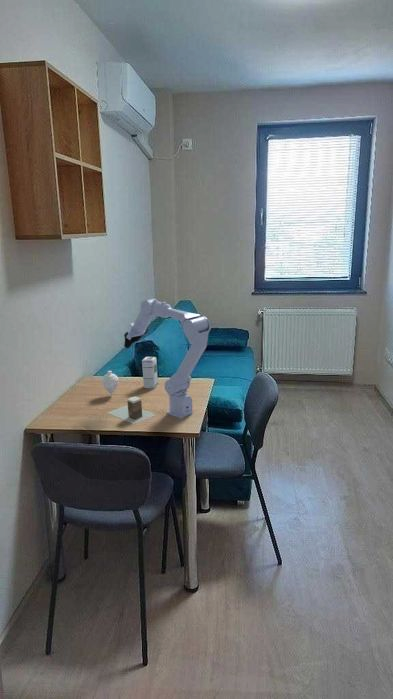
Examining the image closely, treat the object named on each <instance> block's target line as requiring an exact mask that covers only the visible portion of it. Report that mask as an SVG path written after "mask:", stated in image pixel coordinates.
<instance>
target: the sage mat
mask: <svg viewBox="0 0 393 699" xmlns="http://www.w3.org/2000/svg"><path fill="white" fill-rule="evenodd" d="M106 413H107V414H110V415H112V416H113V417H116V418H118V419H120V420H123V421H125V422H128V423H129V424H132V425H135V424H137V423H140V422H143V421H144V420H147V419H150V418H152V417H155V416H157V414H156V413H153V412H150V411H148V410H145V409H143V408H142V417H140V418H138V419H135V420H134V419H132V418H130V417H129V415H128V404H127V405H123V406H121V407H120V406H119V407H118V408H115V409H112V410H110V411H107V412H106Z"/></svg>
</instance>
